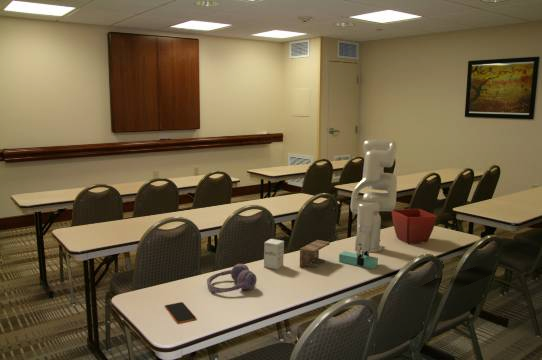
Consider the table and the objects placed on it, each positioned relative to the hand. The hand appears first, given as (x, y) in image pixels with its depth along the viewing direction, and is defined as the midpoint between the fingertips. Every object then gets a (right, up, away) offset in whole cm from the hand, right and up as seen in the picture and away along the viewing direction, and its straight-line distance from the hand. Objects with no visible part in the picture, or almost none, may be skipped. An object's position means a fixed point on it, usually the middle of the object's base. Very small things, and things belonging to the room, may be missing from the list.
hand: (362, 263), depth 229 cm
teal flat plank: (-2, 0, +2) cm, 3 cm away
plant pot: (+37, +5, +43) cm, 58 cm away
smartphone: (-80, -9, -56) cm, 98 cm away
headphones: (-63, -5, -30) cm, 70 cm away
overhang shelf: (-24, 0, 0) cm, 24 cm away
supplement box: (-44, -1, -4) cm, 44 cm away
